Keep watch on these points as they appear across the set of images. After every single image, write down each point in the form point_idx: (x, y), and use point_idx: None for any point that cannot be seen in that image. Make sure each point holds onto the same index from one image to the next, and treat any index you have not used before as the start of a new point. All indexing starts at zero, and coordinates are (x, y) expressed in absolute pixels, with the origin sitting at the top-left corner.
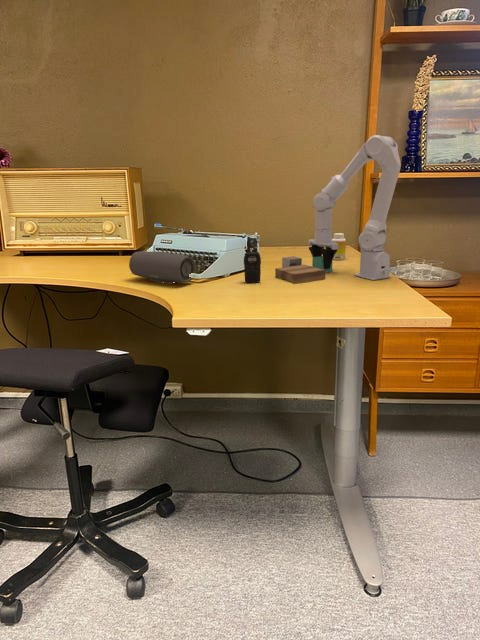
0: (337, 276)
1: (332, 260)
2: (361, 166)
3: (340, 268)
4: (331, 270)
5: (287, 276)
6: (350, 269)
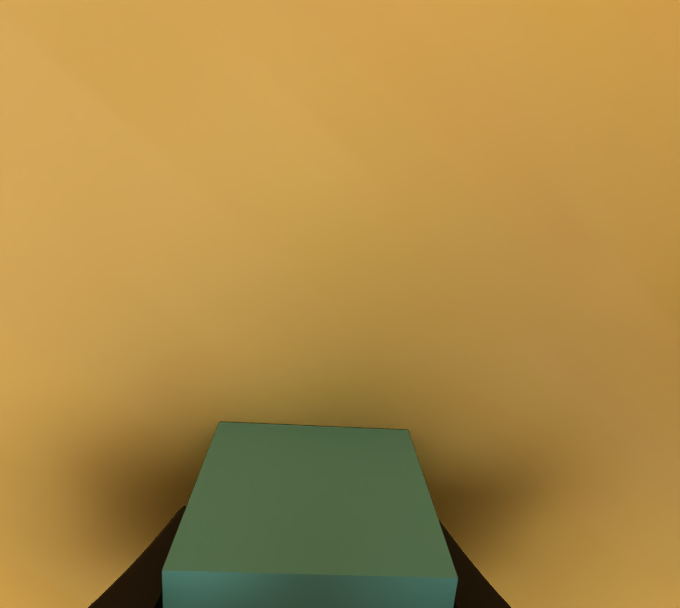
0: (641, 545)
1: (442, 535)
2: None
3: (311, 188)
4: (409, 448)
5: None
6: (469, 120)
